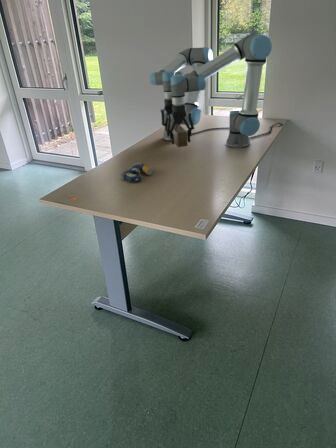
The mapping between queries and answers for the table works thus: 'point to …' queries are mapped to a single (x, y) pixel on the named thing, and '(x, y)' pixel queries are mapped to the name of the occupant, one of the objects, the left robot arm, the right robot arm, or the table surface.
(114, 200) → the table surface
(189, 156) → the table surface
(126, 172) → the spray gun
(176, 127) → the bar
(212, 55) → the left robot arm
